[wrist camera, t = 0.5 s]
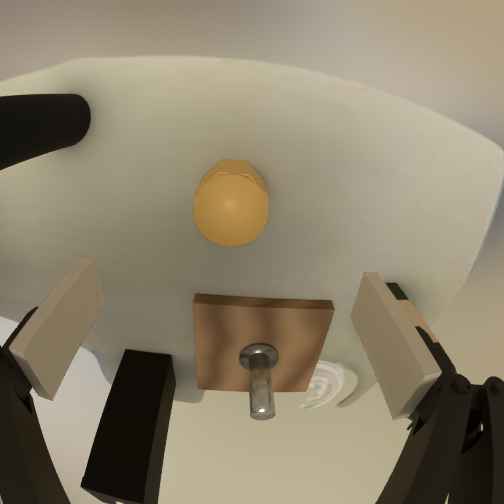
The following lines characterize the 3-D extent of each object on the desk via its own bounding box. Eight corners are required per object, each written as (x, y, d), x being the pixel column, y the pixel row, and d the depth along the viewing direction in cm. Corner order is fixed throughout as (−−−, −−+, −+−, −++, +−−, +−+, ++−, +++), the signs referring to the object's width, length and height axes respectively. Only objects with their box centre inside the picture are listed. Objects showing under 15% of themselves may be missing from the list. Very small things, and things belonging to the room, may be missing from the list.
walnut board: (198, 379, 45) (197, 388, 43) (195, 293, 37) (193, 303, 35) (304, 382, 46) (306, 391, 44) (331, 300, 38) (334, 309, 36)
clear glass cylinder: (237, 368, 41) (238, 424, 32) (240, 342, 38) (240, 402, 29) (275, 369, 41) (281, 424, 32) (281, 343, 39) (290, 402, 30)
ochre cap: (203, 213, 32) (192, 244, 25) (205, 158, 29) (194, 173, 22) (259, 217, 32) (264, 249, 25) (265, 162, 30) (272, 178, 22)
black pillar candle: (176, 383, 45) (155, 534, 20) (134, 378, 45) (98, 520, 20) (171, 354, 42) (140, 528, 17) (124, 348, 41) (74, 508, 16)
